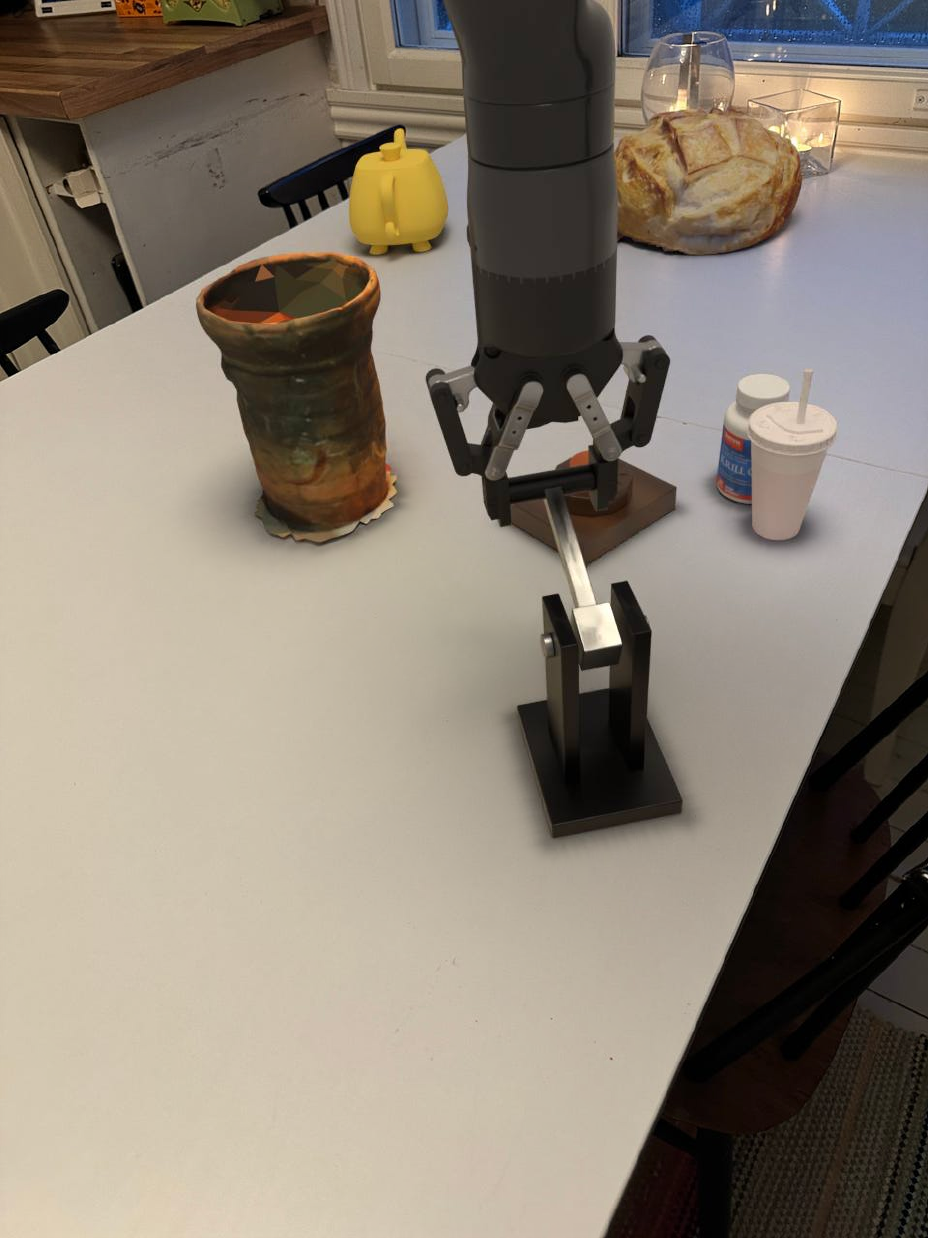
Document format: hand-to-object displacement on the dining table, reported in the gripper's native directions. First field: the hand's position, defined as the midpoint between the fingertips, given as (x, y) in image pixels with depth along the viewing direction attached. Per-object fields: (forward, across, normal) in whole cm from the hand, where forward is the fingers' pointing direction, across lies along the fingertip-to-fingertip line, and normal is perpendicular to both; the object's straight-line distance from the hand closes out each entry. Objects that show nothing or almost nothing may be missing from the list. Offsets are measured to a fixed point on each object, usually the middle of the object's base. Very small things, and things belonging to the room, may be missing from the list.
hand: (551, 510), depth 59 cm
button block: (+13, +7, +16) cm, 21 cm away
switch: (+1, 0, -5) cm, 5 cm away
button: (+9, +7, +16) cm, 19 cm away
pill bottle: (+13, +21, +16) cm, 29 cm away
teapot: (+13, -1, +88) cm, 89 cm away
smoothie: (+13, +21, +10) cm, 26 cm away
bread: (+13, +38, +78) cm, 87 cm away
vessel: (+13, -15, +25) cm, 32 cm away
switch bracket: (+12, 0, -10) cm, 16 cm away
